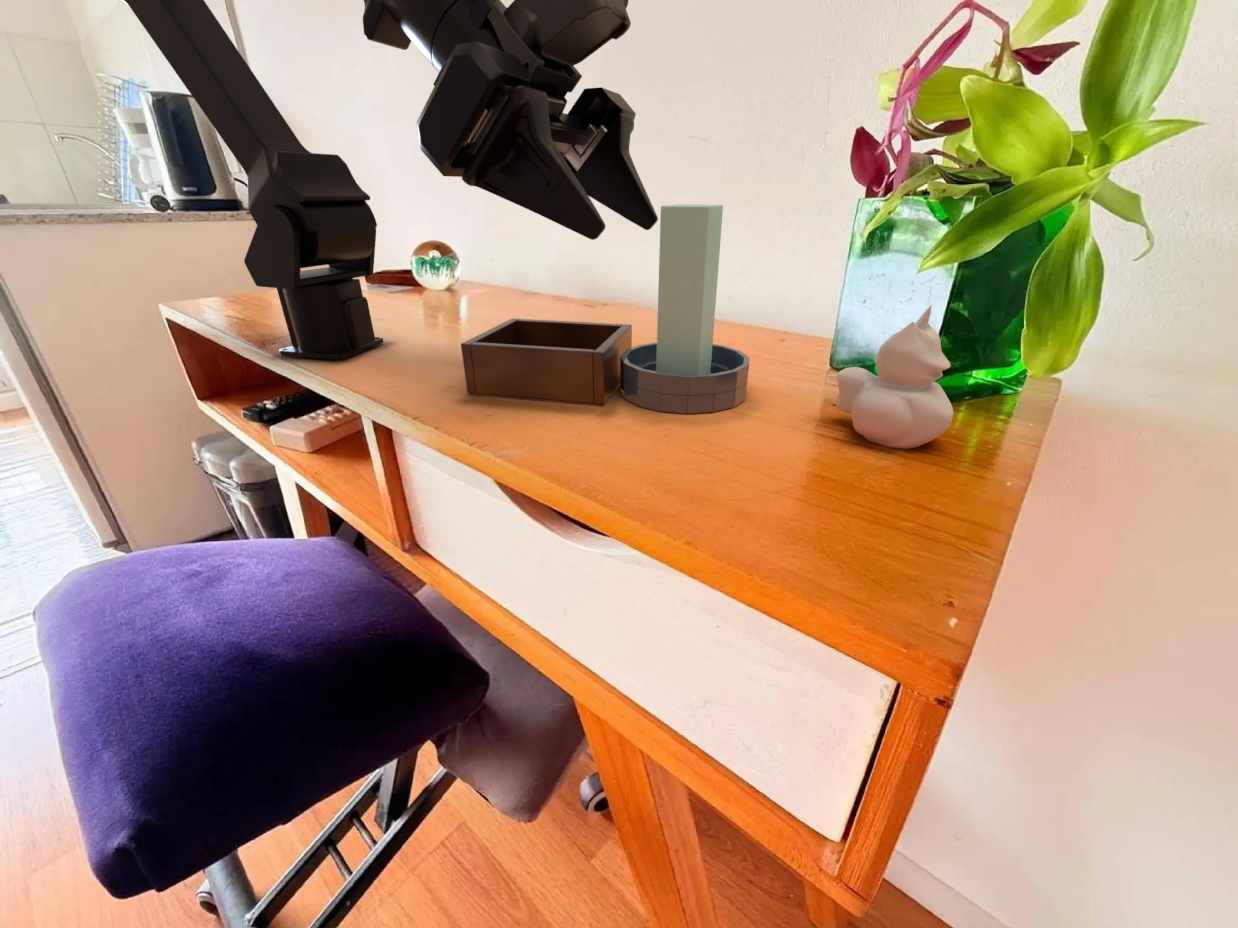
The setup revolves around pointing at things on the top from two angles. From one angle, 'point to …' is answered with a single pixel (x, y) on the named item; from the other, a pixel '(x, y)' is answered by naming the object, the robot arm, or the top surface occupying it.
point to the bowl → (684, 382)
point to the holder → (547, 361)
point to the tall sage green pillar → (687, 287)
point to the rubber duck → (900, 390)
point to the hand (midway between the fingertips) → (629, 229)
